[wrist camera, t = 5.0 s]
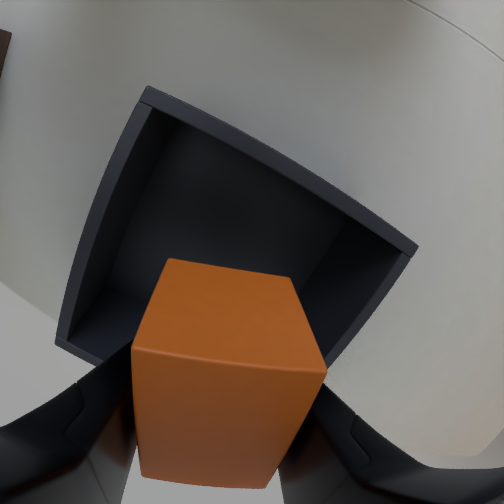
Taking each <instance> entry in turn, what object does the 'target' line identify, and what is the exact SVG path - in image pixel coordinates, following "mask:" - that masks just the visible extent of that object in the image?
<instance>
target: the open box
mask: <svg viewBox="0 0 504 504" xmlns="http://www.w3.org/2000/svg"><path fill="white" fill-rule="evenodd" d="M418 247H419V246H418V245H417V244H416V243H414V242H413V241H412V240H410V239H409V238H408V237H406V236H405V235H404V234H402V233H401V232H400V231H398V230H397V229H396V228H394V227H393V226H391V225H390V224H389V223H387V222H386V221H384V220H383V219H382V218H380V217H379V216H377V215H376V214H375V213H373V212H372V211H370V210H369V209H367V208H366V207H365V206H363V205H362V204H360V203H359V202H357V201H356V200H354V199H353V198H351V197H350V196H348V195H347V194H345V193H344V192H342V191H341V190H339V189H338V188H336V187H335V186H333V185H332V184H330V183H329V182H327V181H325V180H324V179H322V178H321V177H319V176H317V175H316V174H314V173H313V172H311V171H309V170H308V169H306V168H305V167H303V166H301V165H300V164H298V163H296V162H295V161H293V160H291V159H290V158H288V157H286V156H285V155H283V154H281V153H280V152H278V151H276V150H274V149H273V148H271V147H269V146H267V145H266V144H264V143H262V142H260V141H259V140H257V139H255V138H253V137H251V136H250V135H248V134H246V133H244V132H242V131H240V130H239V129H237V128H235V127H233V126H231V125H229V124H227V123H225V122H223V121H221V120H220V119H218V118H216V117H214V116H212V115H210V114H208V113H206V112H204V111H202V110H200V109H198V108H196V107H194V106H192V105H190V104H187V103H185V102H183V101H181V100H179V99H177V98H175V97H173V96H171V95H168V94H166V93H164V92H162V91H160V90H157V89H155V88H153V87H151V86H146V88H145V90H144V92H143V93H142V95H141V97H140V99H139V102H138V103H137V104H136V106H135V108H134V110H133V112H132V114H131V116H130V118H129V120H128V122H127V124H126V126H125V128H124V130H123V132H122V134H121V136H120V139H119V141H118V143H117V145H116V147H115V149H114V152H113V154H112V156H111V159H110V161H109V163H108V165H107V168H106V170H105V173H104V175H103V177H102V180H101V182H100V185H99V187H98V190H97V193H96V195H95V198H94V201H93V203H92V206H91V209H90V211H89V214H88V217H87V220H86V223H85V226H84V229H83V232H82V235H81V238H80V241H79V244H78V248H77V251H76V254H75V258H74V261H73V265H72V268H71V272H70V275H69V279H68V283H67V287H66V291H65V295H64V299H63V303H62V308H61V312H60V317H59V322H58V327H57V332H56V338H55V345H57V346H59V347H60V348H62V349H64V350H66V351H68V352H69V353H71V354H73V355H75V356H77V357H79V358H81V359H83V360H84V361H86V362H88V363H90V364H93V365H94V366H96V367H97V366H98V365H99V364H101V363H102V362H103V361H105V360H106V359H107V358H109V357H110V356H111V355H113V354H114V353H115V352H117V351H118V350H119V349H121V348H122V347H123V346H125V345H126V344H127V343H129V342H130V341H131V340H133V339H134V338H135V336H136V333H137V331H138V328H139V326H140V323H141V321H142V318H143V316H144V313H145V311H146V308H147V306H148V304H149V301H150V299H151V296H152V294H153V292H154V289H155V287H156V285H157V282H158V280H159V278H160V275H161V273H162V271H163V269H164V266H165V264H166V262H167V260H168V259H169V258H172V259H178V260H184V261H190V262H196V263H202V264H208V265H214V266H220V267H226V268H232V269H238V270H245V271H251V272H257V273H264V274H270V275H276V276H283V277H289V278H290V279H291V282H292V284H293V286H294V289H295V291H296V294H297V296H298V298H299V301H300V303H301V306H302V308H303V310H304V313H305V315H306V318H307V320H308V323H309V325H310V327H311V330H312V332H313V335H314V337H315V340H316V342H317V345H318V347H319V350H320V352H321V355H322V357H323V360H324V362H325V365H326V367H327V369H328V368H329V367H330V366H331V365H332V363H333V362H334V361H335V360H336V359H337V358H338V356H339V355H340V354H341V353H342V352H343V350H344V349H345V348H346V347H347V345H348V344H349V343H350V342H351V341H352V339H353V338H354V337H355V336H356V334H357V333H358V332H359V331H360V329H361V328H362V327H363V325H364V324H365V323H366V322H367V320H368V319H369V318H370V316H371V315H372V314H373V312H374V311H375V310H376V308H377V307H378V306H379V304H380V303H381V301H382V300H383V299H384V297H385V296H386V295H387V293H388V292H389V290H390V289H391V288H392V286H393V285H394V283H395V282H396V280H397V279H398V277H399V276H400V275H401V273H402V272H403V270H404V269H405V267H406V266H407V264H408V263H409V261H410V258H412V257H413V255H414V254H415V252H416V251H417V249H418Z"/></svg>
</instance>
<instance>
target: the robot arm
mask: <svg viewBox="0 0 504 504" xmlns="http://www.w3.org/2000/svg"><path fill="white" fill-rule="evenodd" d="M133 341H134V339H133V340H131V341H130V342H129V343H127V344H126V345H125V346H123V347H122V348H121V349H119V350H118V351H117V352H115V353H114V354H113V355H111V356H110V357H109V358H107V359H106V360H105V361H103V362H102V363H101V364H99V365H98V366H97V367H95V368H94V369H93V370H91V371H90V372H89V373H88V374H86V375H85V376H84V377H82V378H81V379H80V380H78V381H77V383H74V384H73V385H71V386H70V387H69V388H67V389H66V390H65V391H63V392H62V393H60V394H59V395H58V396H56V397H55V398H53V399H51V400H50V401H48V402H46V403H45V404H43V405H42V406H40V407H38V408H36V409H34V410H33V411H31V412H29V413H27V414H25V415H24V416H22V417H20V418H18V419H17V420H15V421H13V422H11V423H9V424H7V425H5V426H2V427H0V504H121V499H122V495H123V492H124V489H125V485H126V481H127V478H128V474H129V471H130V467H131V463H132V460H133V456H134V453H135V450H136V446H137V437H136V428H135V417H134V404H133V388H132V366H131V346H132V344H133ZM355 414H356V413H355V412H354V411H353V410H352V409H351V408H350V407H348V406H347V405H346V404H345V403H344V402H343V401H342V400H341V399H340V398H339V397H338V396H337V395H336V394H335V393H334V392H332V391H331V390H330V389H329V388H328V387H327V386H326V385H325V384H324V383H322V385H321V387H320V389H319V392H318V394H317V396H316V398H315V400H314V402H313V404H312V406H311V408H310V410H309V412H308V414H307V416H306V417H305V419H304V421H303V423H302V425H301V427H300V429H299V431H298V433H297V434H296V436H295V438H294V440H293V442H292V444H291V445H290V447H289V449H288V451H287V452H286V454H285V456H284V458H283V459H282V461H281V463H280V465H279V466H278V471H279V476H280V482H281V487H282V493H283V499H284V504H504V467H501V468H493V469H439V468H432V467H428V466H426V465H423V464H422V463H420V462H418V461H417V460H415V459H414V458H412V457H411V456H409V455H408V454H406V453H405V452H404V451H402V450H401V449H399V448H398V447H397V446H395V445H394V444H392V443H391V442H390V441H388V440H387V439H386V438H384V437H383V436H382V435H380V434H379V433H378V432H377V431H375V430H374V429H373V428H372V427H371V426H370V425H368V424H367V423H366V422H365V421H364V420H363V419H362V418H361V417H359V416H358V415H355Z"/></svg>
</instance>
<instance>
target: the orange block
mask: <svg viewBox="0 0 504 504" xmlns="http://www.w3.org/2000/svg"><path fill="white" fill-rule="evenodd" d="M131 366H132V388H133V404H134V417H135V428H136V437H137V446H138V454H139V462H140V470H141V475H142V476H143V477H146V478H151V479H157V480H163V481H169V482H176V483H184V484H192V485H201V486H212V487H226V488H252V489H256V488H257V489H259V488H260V489H262V488H266V486H267V484H268V483H269V481H270V480H271V478H272V476H273V475H274V473H275V471H276V469H277V468H278V466H279V465H280V463H281V461H282V459H283V458H284V456H285V454H286V452H287V451H288V449H289V447H290V445H291V444H292V442H293V440H294V438H295V436H296V434H297V433H298V431H299V429H300V427H301V425H302V423H303V421H304V419H305V417H306V416H307V414H308V412H309V410H310V408H311V406H312V404H313V402H314V400H315V398H316V396H317V394H318V392H319V389H320V387H321V385H322V383H323V381H324V379H325V377H326V375H327V367H326V365H325V362H324V360H323V357H322V355H321V352H320V350H319V347H318V345H317V342H316V340H315V337H314V335H313V332H312V330H311V327H310V325H309V323H308V320H307V318H306V315H305V313H304V310H303V308H302V306H301V303H300V301H299V298H298V296H297V294H296V291H295V289H294V286H293V284H292V282H291V279H290V278H289V277H283V276H276V275H270V274H264V273H257V272H251V271H245V270H238V269H232V268H226V267H220V266H214V265H208V264H202V263H196V262H190V261H184V260H178V259H172V258H169V259H168V260H167V262H166V264H165V266H164V269H163V271H162V273H161V275H160V278H159V280H158V282H157V285H156V287H155V289H154V292H153V294H152V296H151V299H150V301H149V304H148V306H147V308H146V311H145V313H144V316H143V318H142V321H141V323H140V326H139V328H138V331H137V333H136V336H135V338H134V341H133V344H132V346H131Z"/></svg>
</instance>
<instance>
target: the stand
mask: <svg viewBox="0 0 504 504" xmlns="http://www.w3.org/2000/svg"><path fill="white" fill-rule="evenodd" d="M11 34H12V33H11V32H8V31H5V30H2V29H0V76H1V71H2V67H3V63H4V59H5V55H6V51H7V47H8V44H9V40H10V37H11Z"/></svg>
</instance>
